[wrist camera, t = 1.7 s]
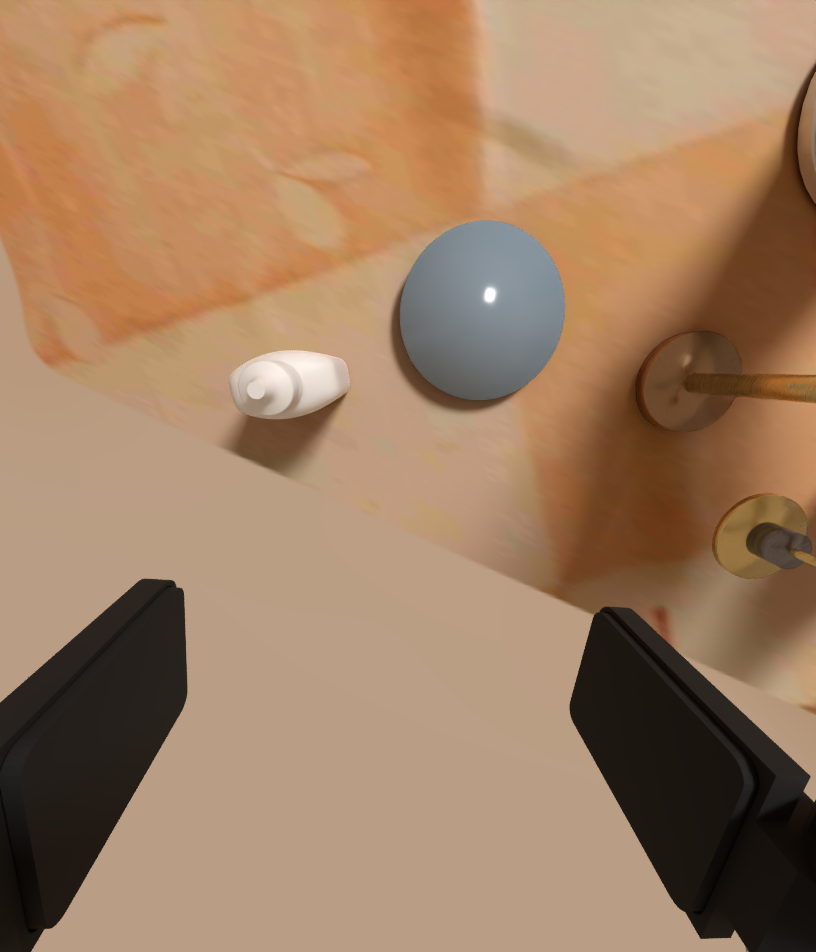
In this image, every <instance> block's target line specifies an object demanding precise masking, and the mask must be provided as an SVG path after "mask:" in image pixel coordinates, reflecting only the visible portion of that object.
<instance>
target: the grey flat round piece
mask: <svg viewBox="0 0 816 952" xmlns="http://www.w3.org/2000/svg"><path fill="white" fill-rule="evenodd" d="M564 316H565V297H564V290H563V285H562V281H561V278H560V275H559V272H558V270H557V267H556V265H555V263H554V261H553V260H552V258H551V256H550V255H549V253H548V252H547V251H546V249H545V248H544V247H543V246H542V245H541V244H540V243H539V242H538V241H537V240H536V239H535V238H534V237H532V236H531V235H530V234H528V233H527V232H525V231H523V230H522V229H520V228H517V227H515V226H513V225H510V224H507V223H503V222H497V221H475V222H470V223H466V224H463V225H460V226H457V227H454V228H453V229H451V230H449V231H447V232H445V233H443V234H442V235H441V236H439V237H438V238H436V239H435V240H434V241H433V242H432V243H431V244H430V245H429V246H427V247H426V249H425V250H424V251H423V252H422V253H421V255H420V256H419V257H418V259H417V260H416V262H415V264H414V265H413V267H412V269H411V271H410V273H409V275H408V277H407V280H406V283H405V286H404V289H403V293H402V298H401V303H400V315H399V317H400V330H401V336H402V340H403V343H404V347H405V349H406V352H407V354H408V356H409V358H410V360H411V362H412V363H413V365H414V366H415V368H416V369H417V370H418V372H419V373H420V374H421V375H422V376H423V377H424V378H425V379H426V380H427V381H428V382H429V383H431V384H432V385H433V386H435V387H436V388H438V389H440V390H441V391H443V392H445V393H448V394H450V395H453V396H456V397H459V398H463V399H468V400H490V399H495V398H499V397H502V396H505V395H508V394H510V393H513V392H515V391H517V390H518V389H520V388H522V387H523V386H525V385H526V384H527V383H529V382H530V381H531V380H532V379H534V378H535V377H536V376H537V375H538V373H539V372H540V371H541V370H542V369H543V368H544V367H545V365H546V364H547V362H548V361H549V360H550V358H551V356H552V354H553V353H554V351H555V349H556V346H557V344H558V342H559V339H560V336H561V332H562V329H563V323H564Z"/></svg>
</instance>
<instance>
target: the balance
mask: <svg viewBox="0 0 816 952" xmlns="http://www.w3.org/2000/svg"><path fill="white" fill-rule="evenodd" d="M735 397H745V398H757V399H770V400H782V401H794V402H807V403H816V375H786V374H742V366H741V360H740V357H739V354H738V352H737V350H736V348H735V347H734V345H733V344H732V343H731V342H730V341H729V340H728V339H727V338H725V337H724V336H722V335H720V334H718V333H714V332H709V331H698V332H690V333H683V334H678V335H675V336H673V337H670V338H668V339H667V340H665V341H663V342H662V343H660V344H659V345H658V346H657V347H656V348H655V349H654V350H653V351H652V352H651V353H650V354H649V355H648V357H647V358H646V360H645V361H644V363H643V365H642V367H641V369H640V372H639V374H638V378H637V383H636V398H637V402H638V406H639V408H640V410H641V412H642V414H643V415H644V416H645V418H646V419H647V420H648V421H650V422H651V423H652V424H654V425H656V426H658V427H661V428H665V429H669V430H674V431H680V432H690V431H695V430H698V429H702V428H704V427H706V426H708V425H710V424H711V423H713V422H714V421H716V420H717V419H718V418H720V417H721V416H722V415H723V414H724V413H725V412H726V410H727V409H728V408H729V407H730V405H731V404H732V402H733V400H734V399H735ZM806 533H807V519H806V515H805V513H804V511H803V509H802V508H801V507H800V505H799V504H797V503H796V502H795V501H793V500H791V499H789V498H786V497H783V496H780V495H777V494H771V493H763V494H757V495H753V496H750V497H748V498H745V499H743V500H742V501H740V502H738V503H737V504H735V505H734V506H733V507H732V508H730V509H729V510H728V511H727V512H726V514H725V515H724V516H723V517H722V519H721V520H720V522H719V523H718V525H717V527H716V530H715V532H714V536H713V542H712V548H713V553H714V557H715V559H716V561H717V562H718V564H719V565H720V566H721V567H723V568H724V569H725V570H727V571H729V572H730V573H732V574H734V575H736V576H738V577H741V578H746V579H755V578H762V577H765V576H768V575H771V574H773V573H775V572H777V571H779V570H780V569H793V568H796V567H798V566H799V565H801V564H802V563H803V562H806V563H809V564H811V565H813V566H815V567H816V558H815V557H813V556H811V555H810V553H811V549H812V544H811V541H810V539H809V538H808V537H807V536H806Z"/></svg>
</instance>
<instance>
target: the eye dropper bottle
mask: <svg viewBox="0 0 816 952" xmlns="http://www.w3.org/2000/svg"><path fill="white" fill-rule="evenodd" d="M229 385H230V389H231V393H232V397H233V400H234V403H235V405H236V407H237V408H238V410H239V411H241V412H242V413H244V414H247V415H249V416H253V417H258V418H265V419H288V418H295V417H299V416H303V415H306V414H309V413H312V412H314V411H317V410H319V409H321V408H323V407H325V406H326V405H328V404H330V403H332V402H333V401H335V400H336V399H338V398H339V397H341V396H342V395H344V394H345V393H346V392H348V390H349V389H350V379H349V374H348V369H347V365H346V363H345V361H343V360H342V359H340V358H337V357H334V356H329V355H325V354H321V353H315V352H310V351H300V350H286V351H276V352H271V353H267V354H264V355H261V356H258V357H256V358H253V359H251V360H249V361H247V362H246V363H244V364H242V365H241V366H240V367H238V368H237V369H236V370H234V371H233V372H232V374H231V375H230V377H229Z"/></svg>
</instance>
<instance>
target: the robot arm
mask: <svg viewBox="0 0 816 952" xmlns="http://www.w3.org/2000/svg"><path fill="white" fill-rule="evenodd" d="M797 150H798V159H799V167H800V172H801V175H802V178H803V181H804V184H805V187H806V189H807V191H808V192H809V194H810V196H811V198H812V199H813V201H814V203H815V204H816V72H815V74H814V76H813V78H812V80H811V82H810V85H809V88H808V91H807V94H806V97H805V100H804V103H803V107H802V112H801V117H800V122H799V127H798V147H797ZM186 697H187V664H186V637H185V608H184V592H183V590H182V588H176V584H175V582H174V581H172V580H159V579H142V580H140V581H138V582H137V583H136V584H135V585H134V586H133V587H132V588H130V589H129V590H128V591H127V592H126V593H125V594H124V595H122V596H121V597H120V598H119V599H118V600H117V601H116V602H115V603H114V604H112V605H111V606H110V607H109V608H108V609H106V610H105V611H104V612H103V613H102V614H101V615H100V616H99V617H97V618H96V619H95V620H94V621H93V622H92V623H91V624H89V625H88V626H87V627H86V628H85V629H84V630H83V631H81V632H80V633H79V634H78V635H77V636H76V637H75V638H73V639H72V640H71V641H70V642H69V643H68V644H67V645H65V646H64V647H63V648H62V649H61V650H60V651H59V652H57V653H56V654H55V655H54V656H53V657H52V658H51V659H49V660H48V661H47V662H46V663H45V664H44V665H43V666H41V667H40V668H39V669H38V670H37V671H36V672H35V673H33V674H32V675H31V676H30V677H29V678H28V679H27V680H26V681H24V683H22V684H21V685H20V686H19V687H18V688H16V689H15V690H14V691H13V692H12V693H11V694H10V695H8V696H7V697H6V698H5V699H4V700H3V701H2V702H0V952H31V951H32V949H33V947H34V946H35V944H36V942H37V941H38V939H39V937H40V935H41V934H42V932H43V930H44V929H50V928H53V927H54V926H55V925H56V924H57V923H58V922H59V921H60V919H61V918H62V917H63V915H64V914H65V912H66V910H67V909H68V907H69V905H70V903H71V902H72V900H73V898H74V897H75V895H76V893H77V892H78V890H79V888H80V886H81V885H82V883H83V881H84V879H85V878H86V876H87V874H88V872H89V870H90V869H91V867H92V865H93V864H94V862H95V860H96V859H97V857H98V855H99V853H100V852H101V850H102V848H103V846H104V845H105V843H106V841H107V840H108V838H109V836H110V834H111V833H112V831H113V829H114V827H115V826H116V824H117V822H118V820H119V819H120V817H121V815H122V813H123V812H124V810H125V808H126V807H127V805H128V803H129V801H130V800H131V798H132V796H133V794H134V793H135V791H136V789H137V788H138V786H139V784H140V782H141V781H142V779H143V777H144V775H145V774H146V772H147V770H148V769H149V767H150V765H151V763H152V762H153V760H154V758H155V756H156V755H157V753H158V751H159V749H160V748H161V746H162V744H163V742H164V741H165V739H166V737H167V736H168V734H169V732H170V730H171V728H172V727H173V725H174V723H175V722H176V720H177V718H178V717H179V715H180V713H181V711H182V709H183V707H184V704H185V701H186ZM570 714H571V718H572V721H573V723H574V725H575V726H576V728H577V730H578V732H579V734H580V735H581V737H582V739H583V741H584V743H585V744H586V746H587V748H588V750H589V752H590V753H591V755H592V757H593V759H594V760H595V762H596V764H597V766H598V768H599V769H600V771H601V773H602V775H603V777H604V779H605V780H606V782H607V784H608V786H609V788H610V789H611V791H612V793H613V795H614V796H615V798H616V800H617V802H618V804H619V805H620V807H621V809H622V811H623V813H624V814H625V816H626V818H627V820H628V822H629V823H630V825H631V827H632V829H633V830H634V832H635V834H636V836H637V838H638V840H639V841H640V843H641V845H642V847H643V848H644V850H645V852H646V854H647V856H648V858H649V859H650V861H651V862H652V865H653V866H654V868H655V870H656V872H657V874H658V876H659V877H660V879H661V881H662V883H663V884H664V886H665V888H666V890H667V892H668V893H669V895H670V897H671V898H672V900H673V902H674V903H675V904H676V905H677V907H678V908H679V909H681V910H682V911H684V912H686V914H687V916H688V918H689V919H690V921H691V923H692V924H693V926H694V928H695V930H696V931H697V933H698V935H699V937H700V938H701V939H709V938H731V936H732V934H733V932H734V930H735V931H736V932H737V933H738V935H739V937H740V938H741V940H742V942H743V943H744V945H745V946H746V952H816V800H815V802H813V801H812V800H811V799H810V798H809V797H808V796H807V795H806V794H805V793H804V792H803V791H804V789H805V787H806V785H807V783H808V781H809V779H810V775H809V774H808V773H806V772H805V771H804V770H803V769H802V768H801V767H800V766H799V765H798V764H797V763H796V762H795V761H794V760H792V758H790V757H789V756H788V755H787V754H786V753H785V752H784V751H783V750H782V749H781V748H780V747H779V746H778V745H777V744H776V743H774V742H773V741H772V740H771V739H770V738H769V737H768V736H767V735H766V734H765V733H764V732H763V731H762V730H761V729H759V728H758V727H757V726H756V725H755V724H754V723H753V722H752V721H751V720H750V719H749V718H748V717H747V716H746V715H745V714H743V713H742V712H741V711H740V710H739V709H738V708H737V707H736V706H735V705H734V704H733V703H732V702H730V701H729V700H728V699H727V698H726V697H725V696H724V695H723V694H722V693H721V692H720V691H719V690H718V689H717V688H715V686H714V685H712V684H711V683H710V682H709V681H708V680H707V679H706V678H705V677H704V676H703V675H702V674H701V673H700V672H698V671H697V670H696V669H695V668H694V667H693V666H692V665H691V664H690V663H689V662H688V661H687V660H686V659H685V658H684V657H683V656H681V655H680V654H679V653H678V652H677V651H676V650H675V649H674V648H673V647H672V646H671V645H670V644H669V643H668V642H666V641H665V640H664V639H663V638H662V637H661V636H660V635H659V634H658V633H657V632H656V631H655V630H654V629H653V628H652V627H650V626H649V625H648V624H647V623H646V622H645V621H644V620H643V619H642V618H641V617H640V616H639V615H638V614H637V613H635V612H634V611H633V610H632V609H630V608H620V607H603V608H602V609H601V610H600V612H598V613H596V614H595V615H594V617H593V621H592V624H591V627H590V631H589V635H588V639H587V642H586V646H585V649H584V653H583V657H582V660H581V665H580V668H579V671H578V675H577V679H576V683H575V686H574V690H573V693H572V697H571V701H570Z"/></svg>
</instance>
